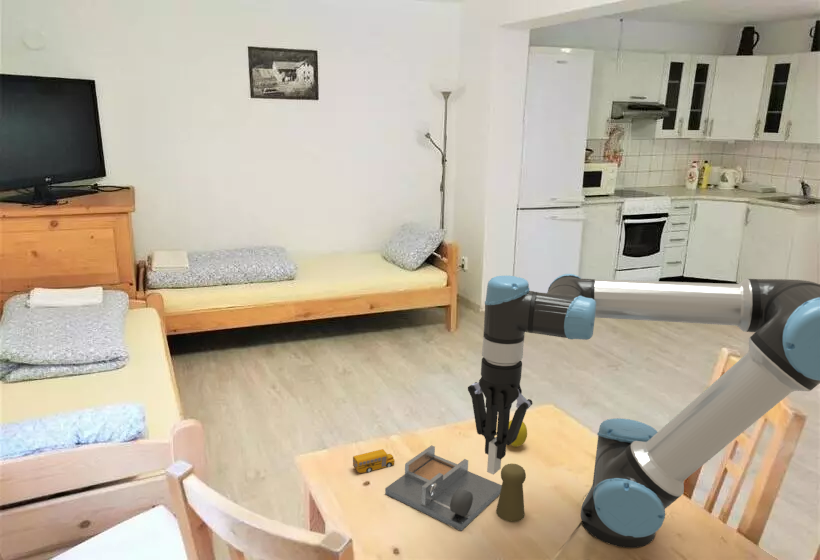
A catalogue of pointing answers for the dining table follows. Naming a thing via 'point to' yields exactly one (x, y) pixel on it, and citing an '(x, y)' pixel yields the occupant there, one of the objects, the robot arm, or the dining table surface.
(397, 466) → the dining table surface
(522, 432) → the lemon
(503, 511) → the olive brown pawn
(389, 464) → the toy bus
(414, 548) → the dining table surface
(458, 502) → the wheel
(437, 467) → the plate
